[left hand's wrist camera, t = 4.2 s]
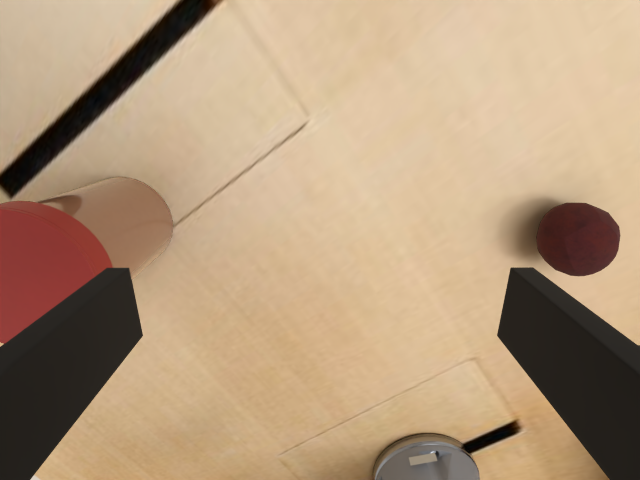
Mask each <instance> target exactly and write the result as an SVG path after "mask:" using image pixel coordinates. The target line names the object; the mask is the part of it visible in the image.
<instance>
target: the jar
mask: <svg viewBox="0 0 640 480" xmlns="http://www.w3.org/2000/svg"><path fill="white" fill-rule="evenodd" d="M35 203H41V204H44V205H48V206H51V207H54V208H56V209H59V210H61V211H63V212H65V213H67V214H69V215H70V216H72V217H74V218H75V219H76V220H78V221H79V222H81V223H82V224H83V225H84V226H85V227H87V228H88V229H89V230H90V231H91V232H92V233H93V234H94V235H95V236H96V237H97V239H98V240H99V241H100V243H101V244H102V245H103V247H104V249H105V250H106V252H107V254H108V256H109V258H110V260H111V263H112V266H113V268H129V269H130V274H131V279H134V278H135V277H136V276H137V275H138V274H139V273H140V272H141V271H142V270H143V269H145V268H146V267H147V266H148V265H149V264H150V263H151V262H152V261H153V260H155V259H156V258H157V257H158V256H159V255H160V254H161V253H162V252H163V251H164V250H165V249H166V248H167V246H168V244H169V243H170V240H171V237H172V233H173V221H172V217H171V213H170V211H169V208H168V206H167V205H166V203H165V201H164V200H163V199H162V197H161V196H160V195H159V194H158V193H157V192H156V191H155V190H153V189H152V188H151V187H149V186H148V185H146V184H144V183H142V182H140V181H138V180H135V179H132V178H126V177H113V178H109V179H105V180H102V181H99V182H96V183H93V184H90V185H87V186H84V187H81V188H78V189H74V190H71V191H68V192H65V193H62V194H59V195H56V196H53V197H50V198H47V199H44V200H41V201H38V202H35Z"/></svg>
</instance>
